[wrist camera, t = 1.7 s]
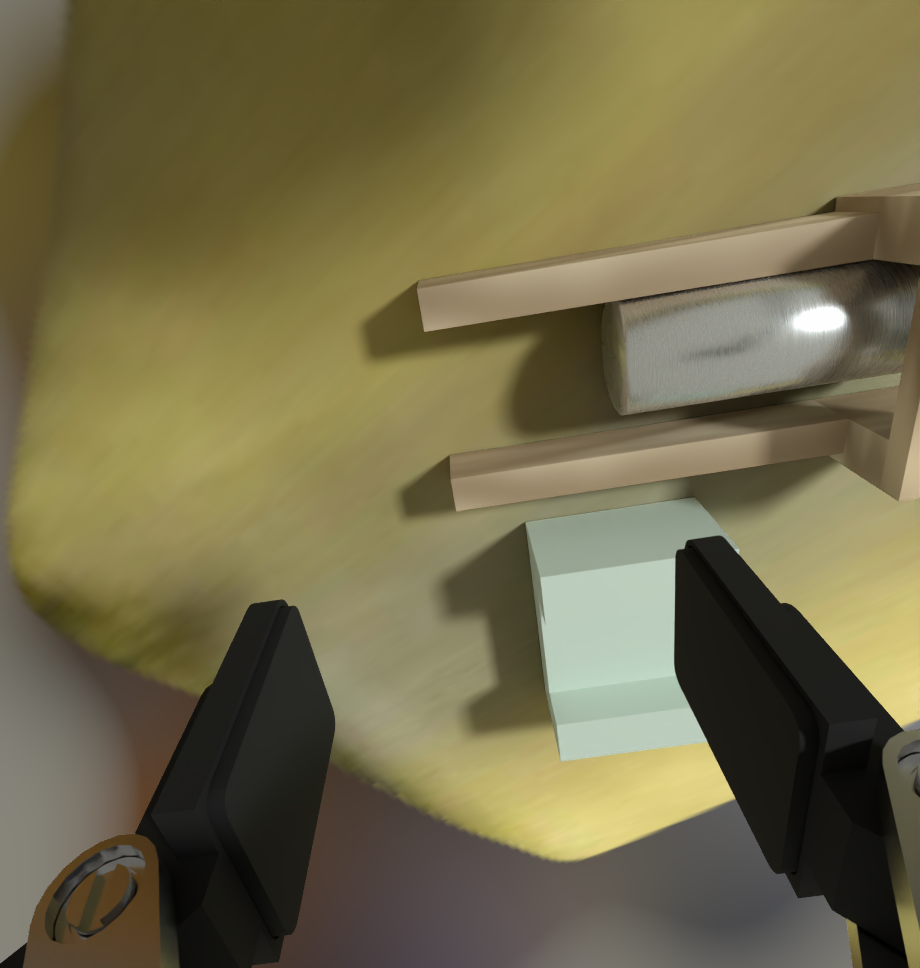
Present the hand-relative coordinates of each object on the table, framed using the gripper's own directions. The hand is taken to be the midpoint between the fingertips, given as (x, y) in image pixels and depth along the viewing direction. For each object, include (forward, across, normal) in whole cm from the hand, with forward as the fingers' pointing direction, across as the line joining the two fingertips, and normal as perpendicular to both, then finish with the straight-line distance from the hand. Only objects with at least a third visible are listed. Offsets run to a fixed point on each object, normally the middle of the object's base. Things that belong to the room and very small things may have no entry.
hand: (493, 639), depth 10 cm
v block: (+16, -6, +12) cm, 21 cm away
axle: (+16, -12, 0) cm, 20 cm away
